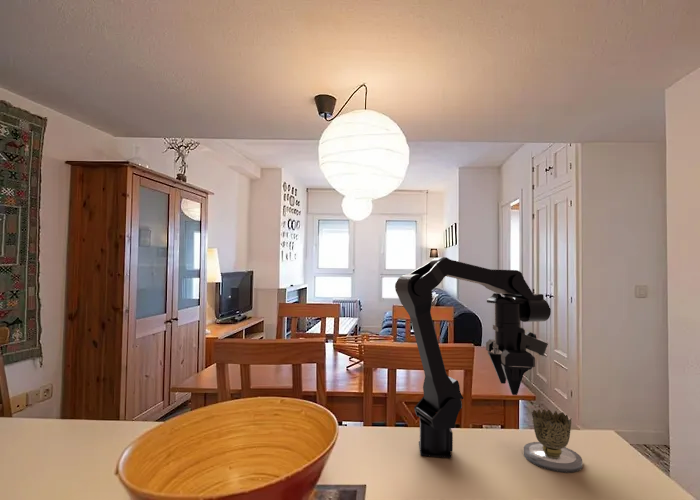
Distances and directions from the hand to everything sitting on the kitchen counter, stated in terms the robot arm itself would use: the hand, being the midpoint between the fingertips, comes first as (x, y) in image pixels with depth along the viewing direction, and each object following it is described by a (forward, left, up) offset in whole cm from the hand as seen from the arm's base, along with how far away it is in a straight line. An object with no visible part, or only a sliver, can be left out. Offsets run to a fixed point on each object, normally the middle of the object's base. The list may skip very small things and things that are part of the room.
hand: (508, 388), depth 90 cm
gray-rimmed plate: (+6, -8, -12) cm, 16 cm away
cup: (+6, -8, -11) cm, 15 cm away
